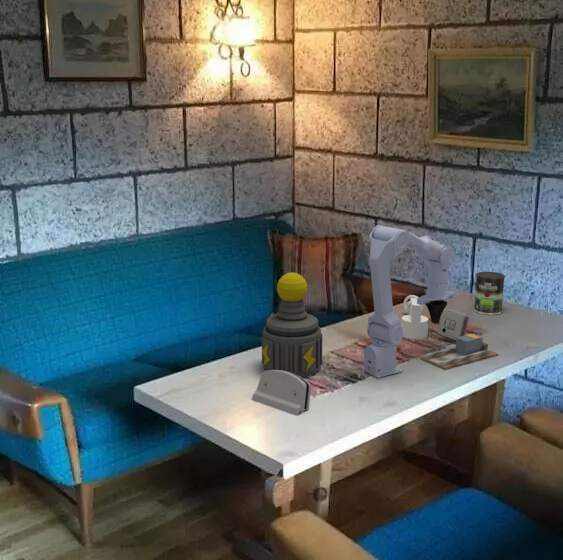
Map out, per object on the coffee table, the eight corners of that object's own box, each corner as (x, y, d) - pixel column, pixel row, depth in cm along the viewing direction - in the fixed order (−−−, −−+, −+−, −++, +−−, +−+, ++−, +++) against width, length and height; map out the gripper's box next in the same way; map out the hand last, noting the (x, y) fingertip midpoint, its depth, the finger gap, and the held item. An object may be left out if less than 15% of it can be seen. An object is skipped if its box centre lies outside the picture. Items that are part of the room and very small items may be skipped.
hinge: (250, 399, 217) (258, 364, 217) (261, 399, 220) (269, 365, 220) (297, 416, 206) (305, 378, 206) (308, 416, 210) (316, 379, 210)
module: (465, 356, 246) (466, 341, 245) (455, 352, 250) (456, 337, 249) (481, 352, 250) (482, 337, 248) (471, 348, 253) (472, 333, 252)
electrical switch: (436, 334, 269) (440, 308, 268) (447, 333, 272) (450, 307, 271) (457, 342, 262) (460, 315, 260) (467, 340, 265) (471, 314, 263)
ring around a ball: (400, 315, 291) (401, 294, 289) (408, 311, 295) (409, 291, 293) (420, 319, 286) (421, 298, 284) (427, 315, 290) (428, 294, 288)
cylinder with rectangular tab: (400, 330, 274) (401, 297, 270) (426, 331, 273) (428, 298, 270) (401, 339, 265) (403, 305, 262) (428, 339, 264) (430, 305, 261)
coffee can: (499, 316, 289) (502, 279, 285) (471, 313, 293) (473, 276, 289) (503, 308, 298) (506, 273, 294) (476, 305, 302) (478, 270, 298)
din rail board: (444, 369, 238) (445, 358, 237) (420, 359, 246) (420, 348, 246) (498, 355, 249) (498, 344, 248) (472, 345, 258) (473, 335, 257)
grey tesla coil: (283, 384, 227) (283, 284, 219) (249, 364, 242) (248, 270, 234) (335, 371, 237) (336, 275, 229) (299, 353, 252) (300, 262, 244)
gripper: (428, 287, 240) (426, 330, 243) (463, 281, 247) (460, 322, 251) (413, 282, 245) (411, 324, 249) (447, 276, 253) (445, 316, 256)
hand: (435, 322), depth 250 cm, fingers closed
